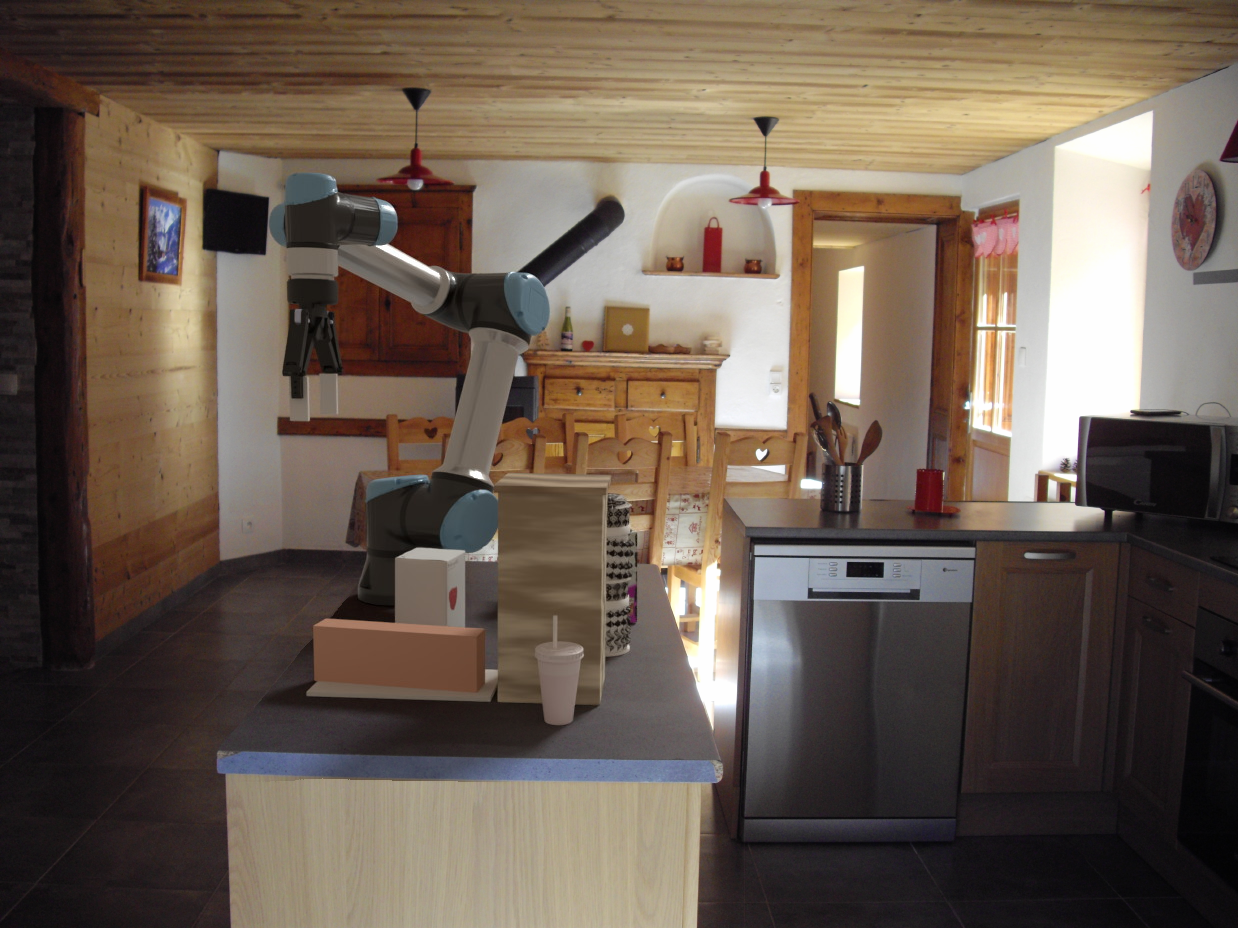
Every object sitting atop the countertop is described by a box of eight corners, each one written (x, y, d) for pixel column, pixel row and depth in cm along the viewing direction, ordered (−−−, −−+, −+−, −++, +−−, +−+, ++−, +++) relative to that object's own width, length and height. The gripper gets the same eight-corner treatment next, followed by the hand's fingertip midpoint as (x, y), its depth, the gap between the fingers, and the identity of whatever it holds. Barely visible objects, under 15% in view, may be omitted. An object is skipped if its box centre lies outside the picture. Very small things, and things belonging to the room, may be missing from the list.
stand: (507, 672, 156) (508, 472, 152) (608, 675, 155) (611, 474, 151) (493, 702, 143) (493, 485, 139) (603, 706, 142) (606, 487, 138)
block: (326, 671, 153) (325, 618, 152) (485, 683, 149) (485, 628, 148) (314, 680, 149) (313, 625, 148) (476, 692, 145) (476, 636, 144)
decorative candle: (570, 641, 172) (572, 491, 169) (625, 639, 174) (628, 490, 171) (580, 658, 163) (582, 500, 160) (638, 655, 165) (641, 499, 162)
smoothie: (534, 711, 140) (534, 609, 138) (582, 710, 140) (583, 608, 139) (534, 729, 133) (534, 622, 132) (584, 728, 134) (585, 621, 132)
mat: (333, 668, 156) (333, 664, 156) (503, 673, 155) (503, 669, 155) (306, 695, 144) (306, 691, 144) (490, 701, 143) (490, 697, 143)
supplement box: (447, 654, 164) (446, 560, 162) (393, 649, 166) (392, 557, 164) (467, 638, 173) (466, 549, 171) (416, 634, 175) (415, 546, 173)
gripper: (315, 282, 172) (317, 411, 174) (256, 273, 147) (260, 423, 150) (360, 283, 172) (362, 412, 174) (309, 273, 147) (312, 424, 149)
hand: (315, 417), depth 162 cm, fingers open, 13 cm apart
